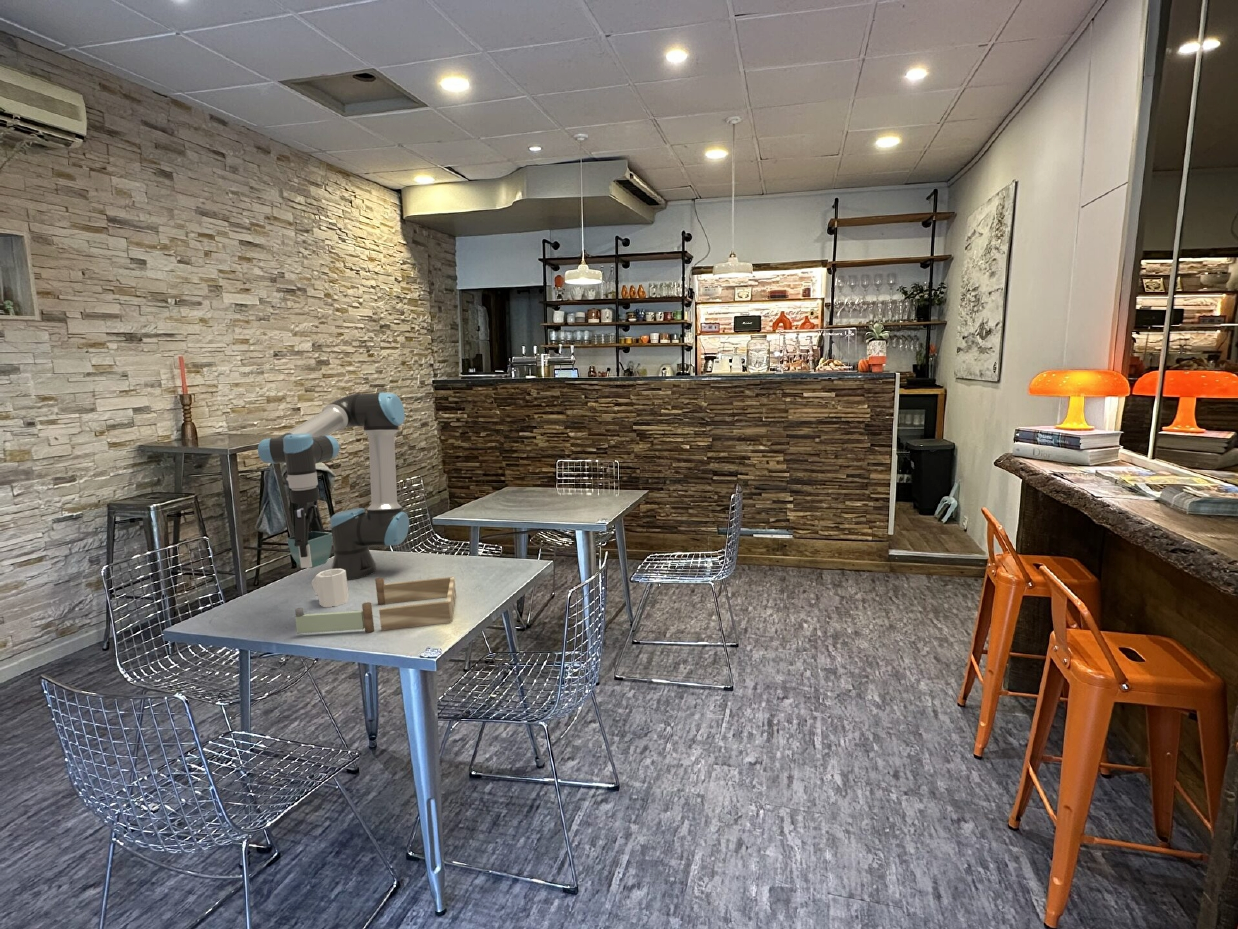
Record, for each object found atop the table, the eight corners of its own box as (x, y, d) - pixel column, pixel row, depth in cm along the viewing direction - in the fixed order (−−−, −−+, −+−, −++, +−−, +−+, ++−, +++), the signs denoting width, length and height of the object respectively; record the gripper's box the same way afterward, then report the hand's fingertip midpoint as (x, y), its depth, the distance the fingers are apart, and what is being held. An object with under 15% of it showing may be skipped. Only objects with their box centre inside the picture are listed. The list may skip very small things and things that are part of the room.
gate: (365, 627, 182) (362, 604, 181) (362, 629, 180) (360, 606, 179) (299, 631, 181) (296, 608, 180) (296, 634, 179) (293, 610, 178)
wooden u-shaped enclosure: (378, 602, 204) (375, 578, 202) (456, 594, 208) (454, 570, 207) (364, 633, 180) (361, 606, 179) (452, 622, 184) (449, 596, 183)
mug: (354, 598, 208) (351, 569, 207) (334, 608, 200) (330, 578, 199) (325, 595, 212) (321, 567, 211) (304, 605, 204) (300, 575, 203)
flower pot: (336, 562, 190) (333, 532, 189) (311, 571, 183) (307, 541, 181) (315, 559, 194) (312, 530, 193) (289, 568, 187) (285, 538, 185)
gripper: (302, 481, 196) (311, 550, 199) (275, 497, 173) (285, 575, 176) (328, 479, 197) (337, 548, 201) (304, 494, 174) (314, 572, 177)
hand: (313, 561), depth 188 cm, fingers closed on flower pot, 12 cm apart
